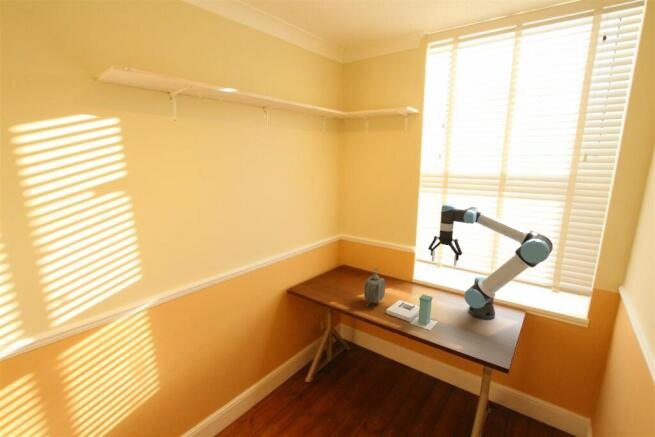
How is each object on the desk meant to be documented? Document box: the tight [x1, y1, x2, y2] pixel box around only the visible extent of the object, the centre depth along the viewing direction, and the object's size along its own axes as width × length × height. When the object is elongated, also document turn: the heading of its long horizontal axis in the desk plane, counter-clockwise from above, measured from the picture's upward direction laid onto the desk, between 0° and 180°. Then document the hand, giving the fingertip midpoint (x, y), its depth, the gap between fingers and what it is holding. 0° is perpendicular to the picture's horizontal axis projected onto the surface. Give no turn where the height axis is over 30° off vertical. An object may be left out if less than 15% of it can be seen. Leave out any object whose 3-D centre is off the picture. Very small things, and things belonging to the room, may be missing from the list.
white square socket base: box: [385, 299, 420, 323], centre depth 199 cm, size 16×18×3 cm
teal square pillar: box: [418, 293, 433, 326], centre depth 185 cm, size 6×6×16 cm
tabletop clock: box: [363, 267, 386, 307], centre depth 207 cm, size 14×9×25 cm, turn 149°
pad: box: [409, 315, 438, 331], centre depth 186 cm, size 12×12×1 cm
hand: (443, 263), depth 197 cm, fingers open, 13 cm apart
